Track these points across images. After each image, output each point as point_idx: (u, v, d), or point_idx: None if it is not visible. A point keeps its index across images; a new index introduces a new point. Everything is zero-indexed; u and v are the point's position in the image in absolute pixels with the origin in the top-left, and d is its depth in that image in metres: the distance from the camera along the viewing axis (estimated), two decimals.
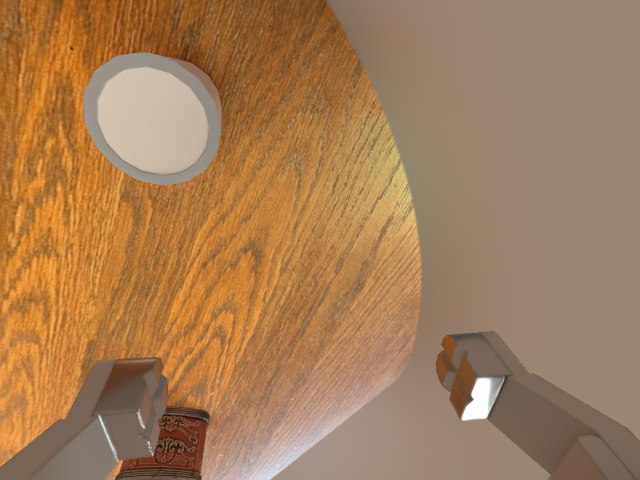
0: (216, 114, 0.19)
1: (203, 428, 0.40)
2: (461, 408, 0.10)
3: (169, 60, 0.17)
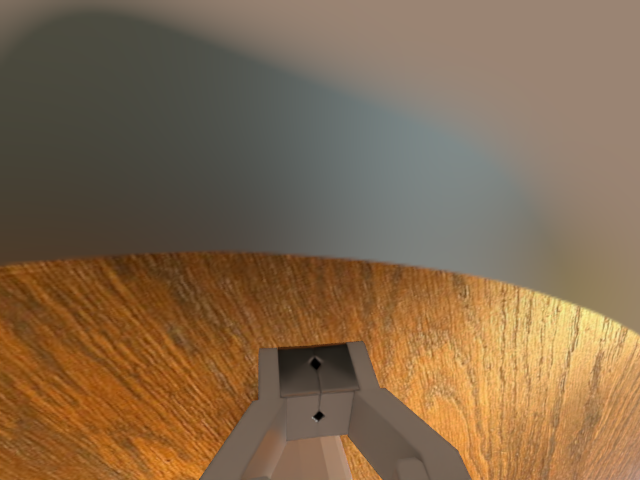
0: None
1: None
2: (317, 424, 0.09)
3: None
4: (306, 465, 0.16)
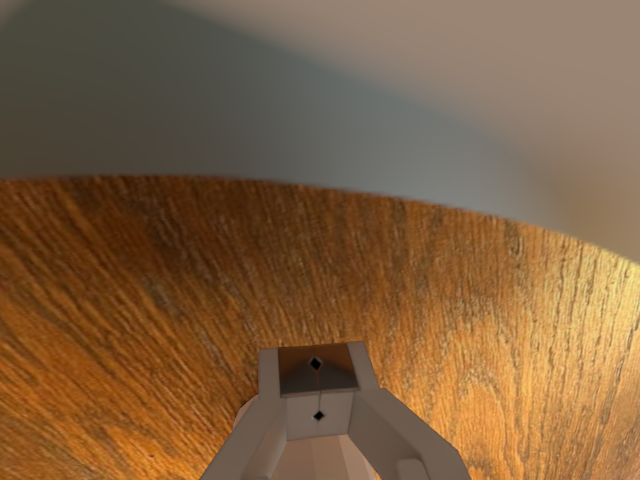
0: None
1: None
2: (317, 424, 0.09)
3: None
4: (320, 461, 0.12)
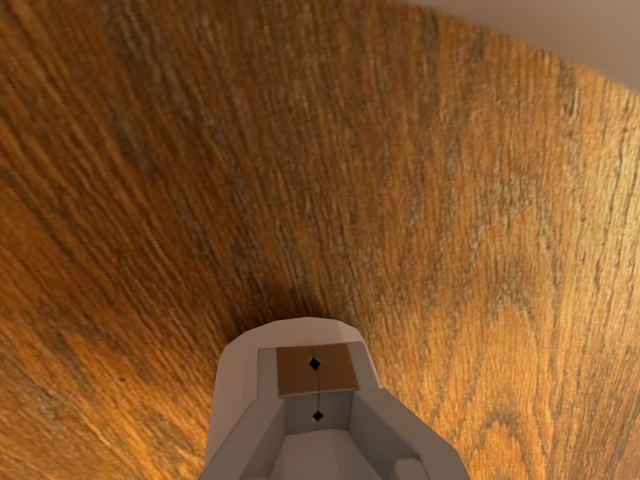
0: None
1: None
2: (316, 424, 0.09)
3: None
4: None
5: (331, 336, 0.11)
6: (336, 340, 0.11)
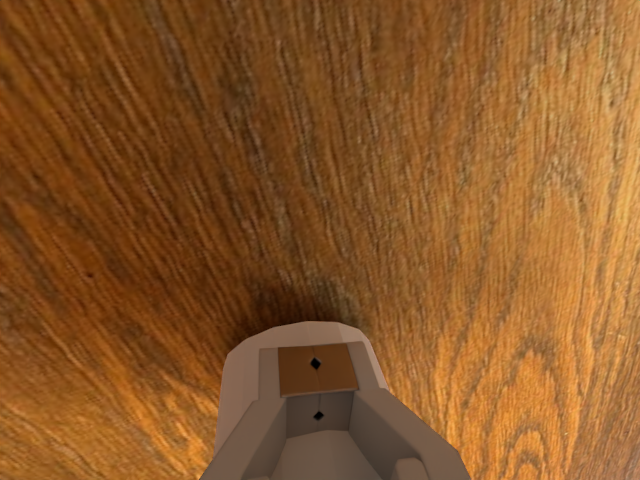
0: None
1: None
2: (317, 424, 0.09)
3: None
4: (337, 432, 0.09)
5: (331, 340, 0.11)
6: None
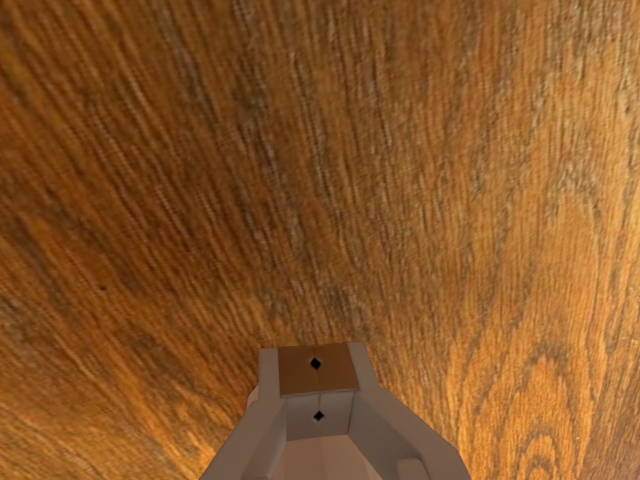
0: None
1: None
2: (317, 424, 0.09)
3: None
4: (328, 440, 0.11)
5: None
6: None
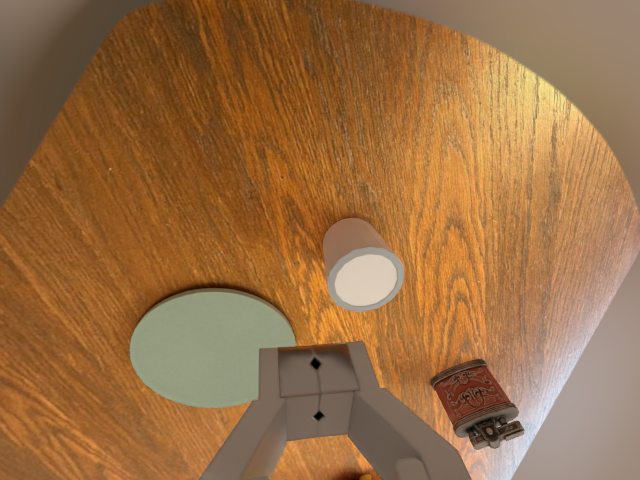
0: (389, 252, 0.29)
1: (487, 371, 0.47)
2: (317, 424, 0.09)
3: (351, 252, 0.29)
4: (362, 231, 0.32)
5: (359, 220, 0.34)
6: (361, 221, 0.34)
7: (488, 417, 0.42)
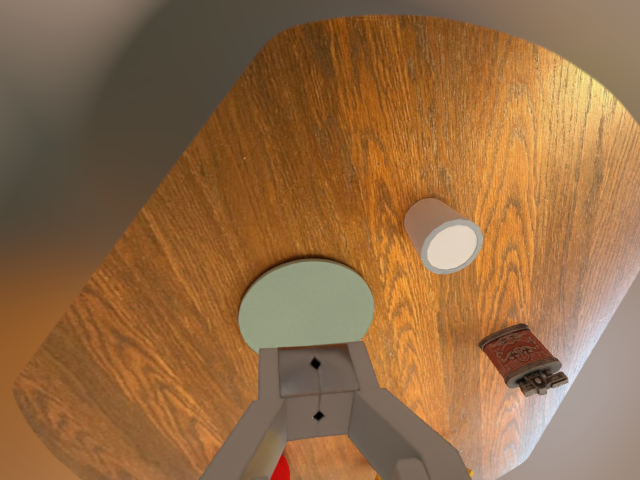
0: (473, 223, 0.36)
1: (531, 333, 0.54)
2: (317, 424, 0.09)
3: (444, 223, 0.35)
4: (445, 208, 0.38)
5: (437, 200, 0.41)
6: (439, 200, 0.41)
7: (536, 369, 0.49)
